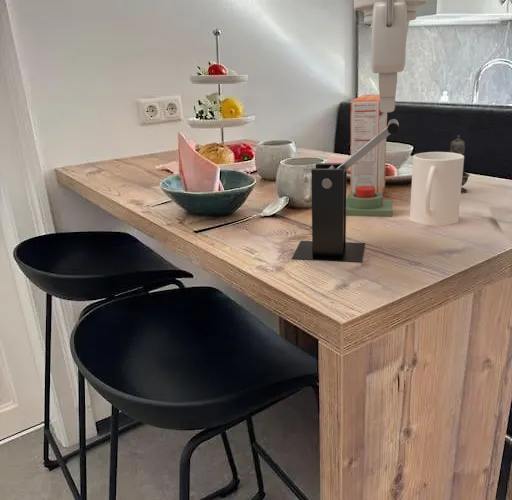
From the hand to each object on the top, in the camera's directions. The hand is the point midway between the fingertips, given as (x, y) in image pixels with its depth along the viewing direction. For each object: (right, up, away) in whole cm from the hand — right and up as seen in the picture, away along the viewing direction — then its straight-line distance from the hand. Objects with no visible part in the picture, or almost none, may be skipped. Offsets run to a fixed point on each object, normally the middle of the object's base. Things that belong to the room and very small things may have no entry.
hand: (387, 108), depth 66 cm
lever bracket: (-6, -20, +9) cm, 23 cm away
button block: (+3, -12, +29) cm, 32 cm away
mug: (+13, -15, +21) cm, 29 cm away
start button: (+3, -9, +28) cm, 29 cm away
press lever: (-2, -6, +3) cm, 8 cm away
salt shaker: (+26, -6, +44) cm, 51 cm away
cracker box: (+7, -8, +41) cm, 42 cm away
